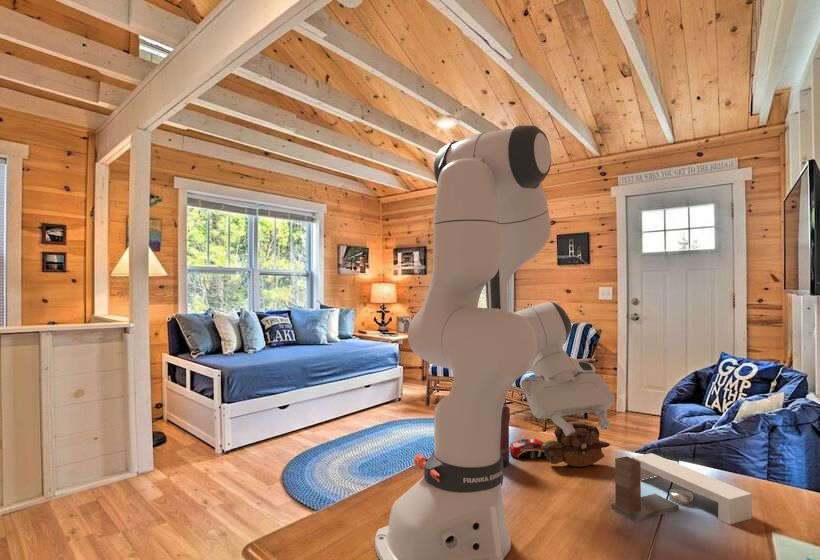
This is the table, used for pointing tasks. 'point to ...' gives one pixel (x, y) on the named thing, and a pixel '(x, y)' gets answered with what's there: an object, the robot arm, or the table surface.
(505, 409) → the can
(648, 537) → the table surface
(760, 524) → the table surface
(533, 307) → the robot arm
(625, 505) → the brown l-shaped block
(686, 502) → the steel bowl
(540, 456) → the race car
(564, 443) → the wooden carving
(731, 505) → the low shelf
